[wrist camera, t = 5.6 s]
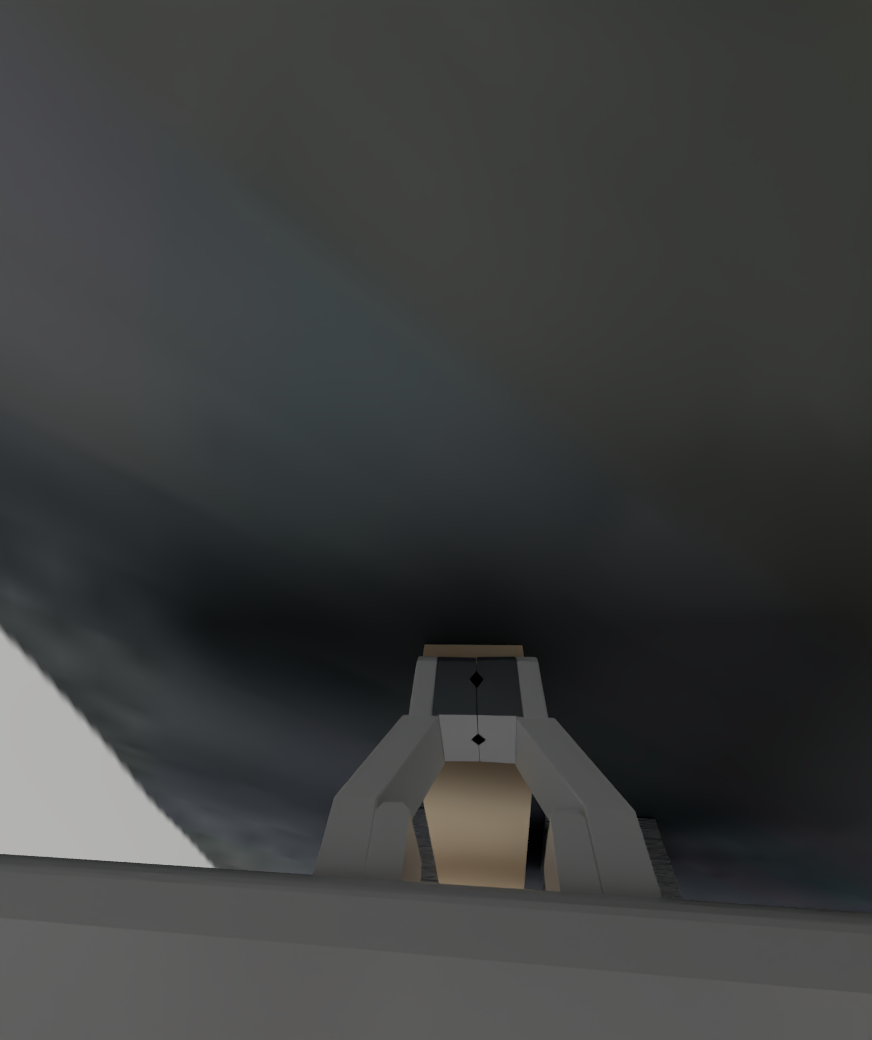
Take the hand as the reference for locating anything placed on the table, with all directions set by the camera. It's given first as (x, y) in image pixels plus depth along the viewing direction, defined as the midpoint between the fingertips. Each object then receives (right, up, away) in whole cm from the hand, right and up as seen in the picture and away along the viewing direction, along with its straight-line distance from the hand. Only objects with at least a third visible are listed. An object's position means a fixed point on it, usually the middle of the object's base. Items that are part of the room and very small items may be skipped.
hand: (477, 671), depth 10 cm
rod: (+1, -7, +6) cm, 9 cm away
